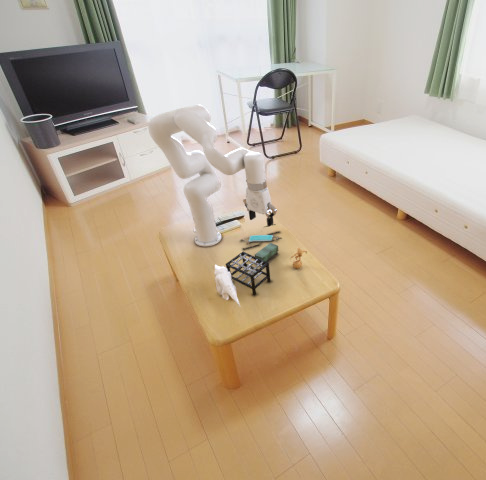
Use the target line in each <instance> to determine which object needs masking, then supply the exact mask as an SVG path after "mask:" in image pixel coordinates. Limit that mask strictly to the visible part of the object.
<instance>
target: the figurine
mask: <svg viewBox="0 0 486 480" xmlns="http://www.w3.org/2000/svg"><path fill="white" fill-rule="evenodd" d="M303 253H305V254H308V251H307V250H303V249H301V247H297V251H296V252H295V253H294V254H293V255H292V256H290V258H289V260H292V258H295V260H293V262H292V267H293V268H294V269H295V270H297V269H298V270H299V269H301V267H302V265H303V263H302V261H301V257H303Z"/></svg>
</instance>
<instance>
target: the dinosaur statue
mask: <svg viewBox="0 0 486 480" xmlns="http://www.w3.org/2000/svg"><path fill="white" fill-rule="evenodd" d="M231 273H232V271H231V272H228V269H227V268H226V266H224V265H222V266H220V265H217V264H214V272H213V274H214V276H215V277H214V282H215V285H216V286H215V289H216V292H217V293H218V294H219V295H220V296H221V297H222V299H223V300H225V301H228V300H229V299H230V297H231V299H233V301H234V302H235V303H236V305H238V306H239V307H241V304H240V301H239V298H238V295H237V294H238V291H237V288H236V285H235V284H234V280H233V279H232V278H231Z"/></svg>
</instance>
